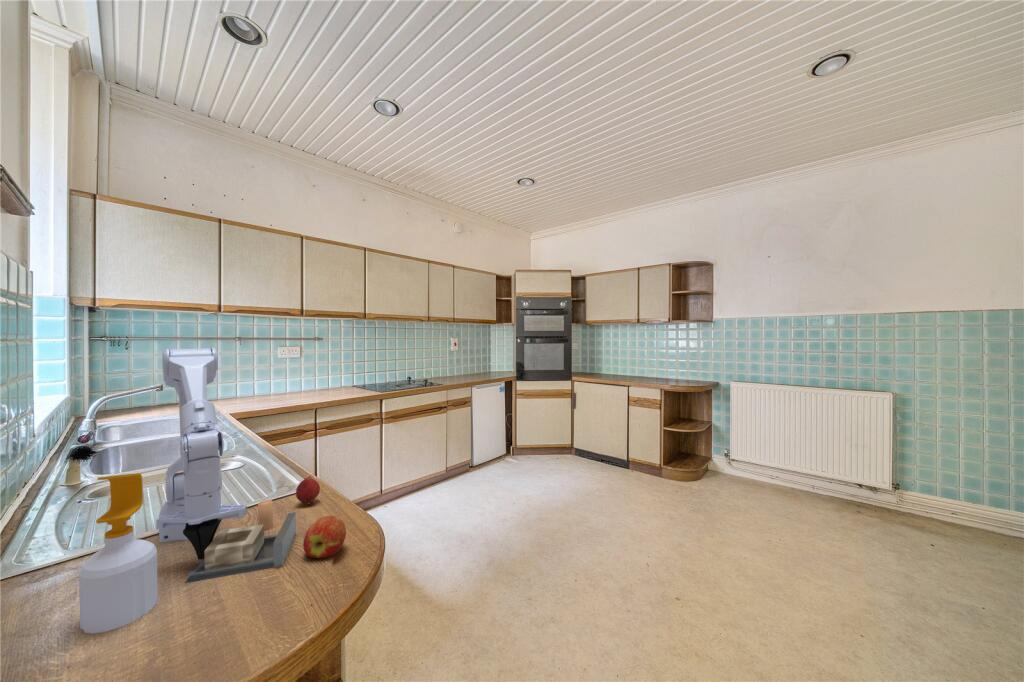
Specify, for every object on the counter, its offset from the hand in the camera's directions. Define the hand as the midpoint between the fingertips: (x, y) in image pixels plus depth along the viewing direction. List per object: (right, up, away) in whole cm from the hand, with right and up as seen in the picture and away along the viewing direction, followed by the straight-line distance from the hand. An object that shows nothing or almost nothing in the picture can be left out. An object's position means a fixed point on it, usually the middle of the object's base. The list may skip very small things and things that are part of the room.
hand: (204, 556), depth 78 cm
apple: (+23, -2, +5) cm, 23 cm away
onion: (+6, -2, +29) cm, 29 cm away
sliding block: (+5, -1, +2) cm, 6 cm away
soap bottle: (-3, -3, -14) cm, 14 cm away
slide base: (+7, -2, +2) cm, 8 cm away
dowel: (+4, -2, +14) cm, 15 cm away
